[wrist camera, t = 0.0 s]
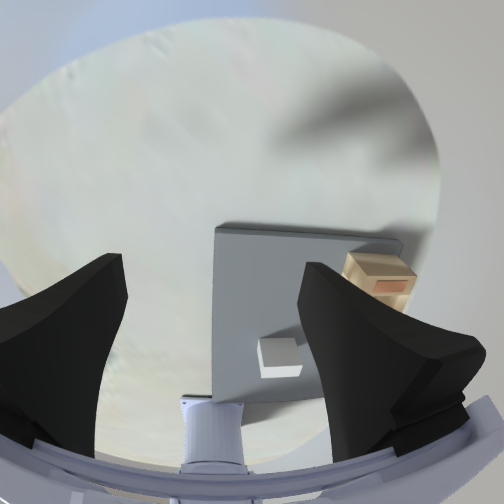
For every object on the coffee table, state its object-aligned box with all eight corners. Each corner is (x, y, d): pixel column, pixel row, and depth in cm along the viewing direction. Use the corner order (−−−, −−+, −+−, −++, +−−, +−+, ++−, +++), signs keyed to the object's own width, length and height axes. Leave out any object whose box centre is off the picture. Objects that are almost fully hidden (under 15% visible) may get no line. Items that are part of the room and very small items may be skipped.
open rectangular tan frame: (368, 324, 25) (383, 349, 22) (324, 327, 25) (337, 355, 21) (395, 254, 22) (418, 276, 19) (348, 252, 21) (368, 276, 18)
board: (333, 389, 32) (343, 416, 28) (212, 396, 30) (212, 427, 26) (397, 239, 22) (425, 264, 18) (215, 227, 20) (213, 256, 16)
